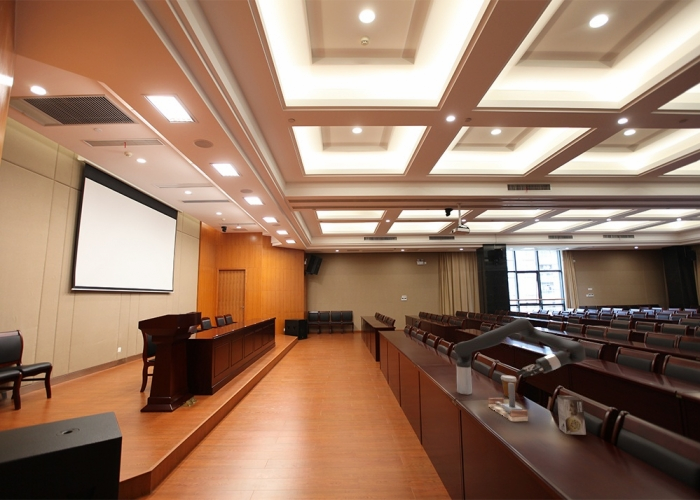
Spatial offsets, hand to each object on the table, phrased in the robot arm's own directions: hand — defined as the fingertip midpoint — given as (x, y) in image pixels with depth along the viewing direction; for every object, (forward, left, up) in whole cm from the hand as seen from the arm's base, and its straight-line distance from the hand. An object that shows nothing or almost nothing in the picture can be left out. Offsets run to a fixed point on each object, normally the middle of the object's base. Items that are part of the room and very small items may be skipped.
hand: (519, 374), depth 175 cm
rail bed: (-9, -3, -23) cm, 25 cm away
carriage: (-4, -3, -21) cm, 21 cm away
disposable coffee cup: (-39, +19, -23) cm, 50 cm away
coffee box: (+17, +14, -23) cm, 32 cm away
